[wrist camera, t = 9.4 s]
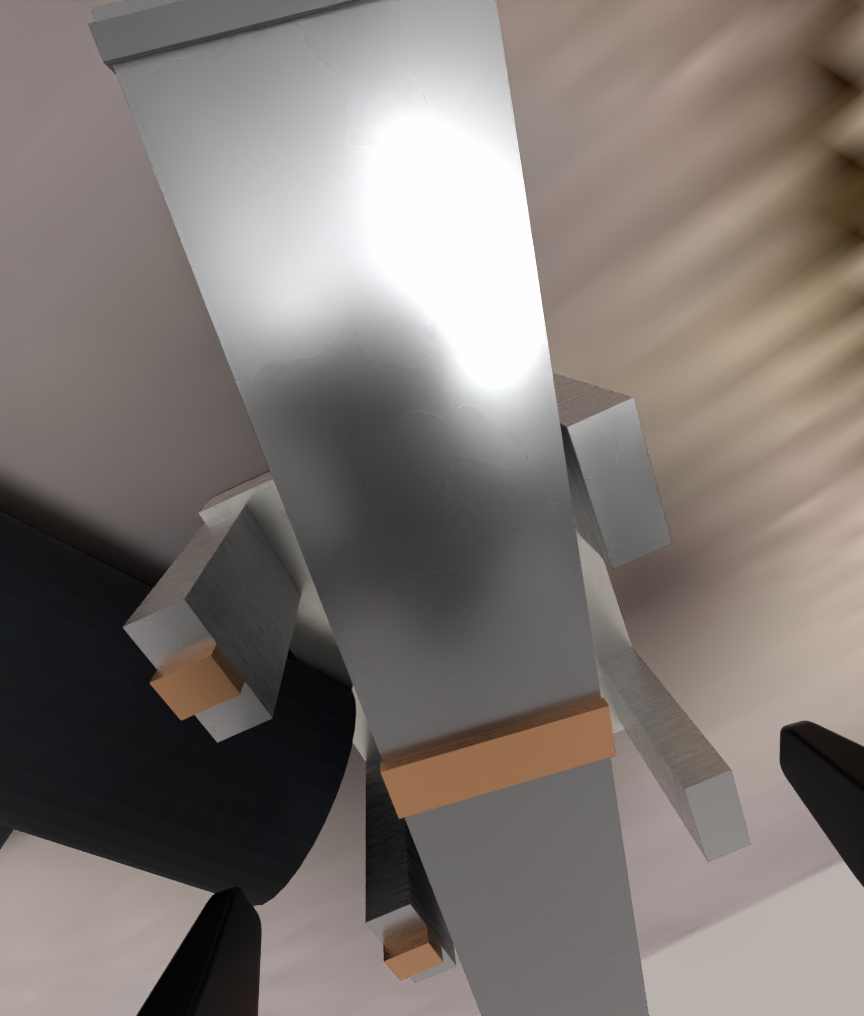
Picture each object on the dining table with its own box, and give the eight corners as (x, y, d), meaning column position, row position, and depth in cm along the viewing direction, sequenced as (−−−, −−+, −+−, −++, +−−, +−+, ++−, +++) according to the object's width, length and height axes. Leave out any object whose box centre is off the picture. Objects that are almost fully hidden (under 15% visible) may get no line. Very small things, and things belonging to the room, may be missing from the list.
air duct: (589, 874, 17) (657, 1041, 13) (472, 909, 17) (505, 1088, 13) (436, 83, 9) (492, -106, 5) (206, 142, 9) (74, -4, 5)
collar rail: (211, 497, 12) (101, 626, 7) (523, 355, 12) (640, 382, 7) (403, 792, 16) (421, 1005, 11) (637, 692, 16) (762, 865, 11)
